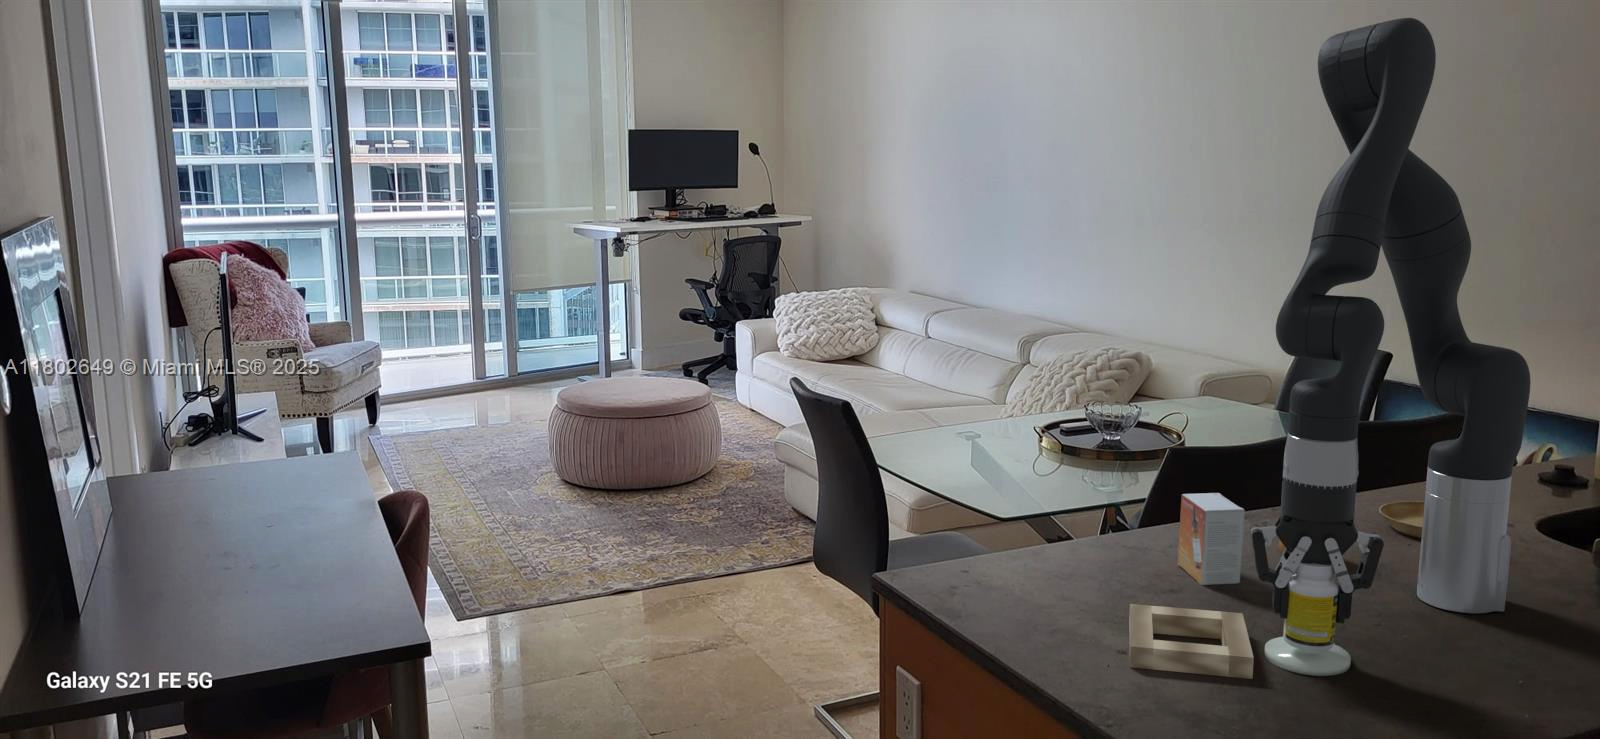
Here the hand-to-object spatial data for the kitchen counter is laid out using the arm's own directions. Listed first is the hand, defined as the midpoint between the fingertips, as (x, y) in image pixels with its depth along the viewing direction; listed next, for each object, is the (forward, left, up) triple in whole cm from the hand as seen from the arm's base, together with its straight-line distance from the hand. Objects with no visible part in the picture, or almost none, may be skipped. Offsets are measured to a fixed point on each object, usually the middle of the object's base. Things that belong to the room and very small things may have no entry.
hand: (1310, 618), depth 133 cm
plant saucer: (-25, -54, -5) cm, 60 cm away
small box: (+9, -26, -5) cm, 28 cm away
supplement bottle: (0, 0, -3) cm, 3 cm away
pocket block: (+13, +1, -5) cm, 14 cm away
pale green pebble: (0, 0, -5) cm, 5 cm away
